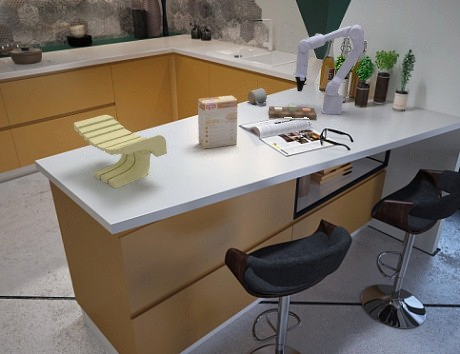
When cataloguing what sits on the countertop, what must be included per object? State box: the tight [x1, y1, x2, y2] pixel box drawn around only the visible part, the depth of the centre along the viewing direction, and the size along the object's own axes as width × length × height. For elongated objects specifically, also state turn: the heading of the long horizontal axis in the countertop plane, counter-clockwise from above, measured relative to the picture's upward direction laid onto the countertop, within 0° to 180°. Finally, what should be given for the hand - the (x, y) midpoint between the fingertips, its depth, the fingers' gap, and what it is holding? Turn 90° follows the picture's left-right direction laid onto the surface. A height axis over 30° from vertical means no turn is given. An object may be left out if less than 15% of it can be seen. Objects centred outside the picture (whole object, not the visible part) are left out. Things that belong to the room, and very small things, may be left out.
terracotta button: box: [302, 107, 311, 113], centre depth 217 cm, size 4×4×3 cm
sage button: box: [287, 104, 298, 112], centre depth 217 cm, size 4×4×3 cm
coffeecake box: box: [197, 95, 238, 150], centre depth 178 cm, size 15×7×20 cm, turn 111°
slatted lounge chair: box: [73, 114, 168, 189], centre depth 150 cm, size 30×16×18 cm, turn 48°
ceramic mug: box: [247, 87, 268, 107], centre depth 233 cm, size 11×8×8 cm
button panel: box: [268, 105, 318, 121], centre depth 218 cm, size 23×12×2 cm, turn 87°
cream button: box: [274, 106, 283, 112], centre depth 218 cm, size 4×4×3 cm
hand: (299, 91), depth 224 cm, fingers closed
